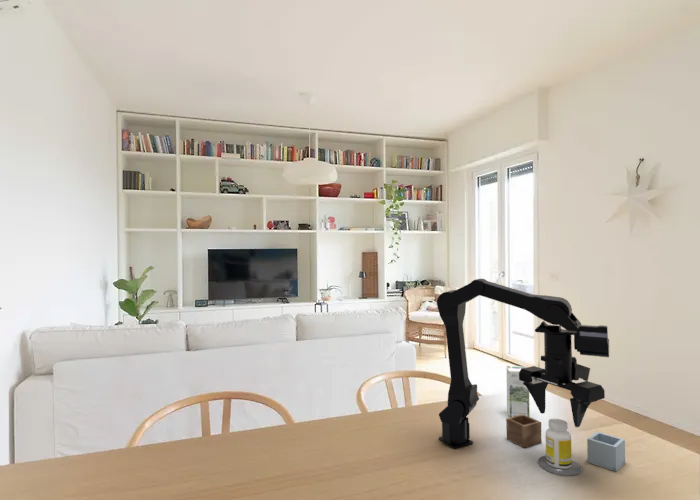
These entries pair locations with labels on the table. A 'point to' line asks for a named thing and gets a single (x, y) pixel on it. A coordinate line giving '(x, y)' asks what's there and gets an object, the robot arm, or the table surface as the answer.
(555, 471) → the coaster
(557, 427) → the supplement bottle
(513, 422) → the walnut box
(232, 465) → the table surface
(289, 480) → the table surface
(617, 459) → the slate cup
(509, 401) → the syrup box
